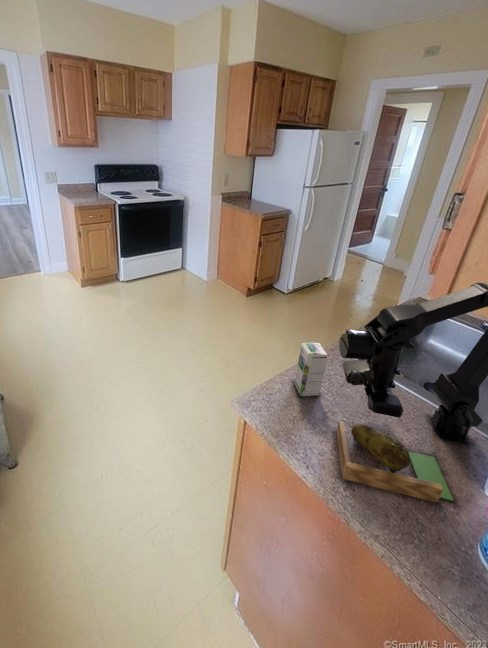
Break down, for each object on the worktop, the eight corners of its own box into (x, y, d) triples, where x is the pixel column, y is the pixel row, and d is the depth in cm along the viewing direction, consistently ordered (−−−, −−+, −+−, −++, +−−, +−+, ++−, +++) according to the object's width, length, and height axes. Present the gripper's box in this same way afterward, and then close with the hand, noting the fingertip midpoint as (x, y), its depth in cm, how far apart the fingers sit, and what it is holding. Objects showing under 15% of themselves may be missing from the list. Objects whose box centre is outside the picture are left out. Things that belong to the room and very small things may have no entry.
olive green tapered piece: (377, 432, 81) (385, 408, 78) (410, 483, 69) (421, 457, 66) (345, 433, 81) (352, 409, 78) (373, 484, 69) (382, 458, 66)
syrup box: (293, 382, 97) (300, 342, 92) (312, 382, 98) (319, 342, 92) (300, 396, 92) (307, 355, 87) (320, 395, 93) (328, 354, 87)
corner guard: (416, 451, 77) (421, 439, 75) (437, 502, 66) (443, 489, 64) (336, 433, 81) (339, 421, 79) (342, 479, 70) (346, 466, 68)
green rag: (434, 458, 75) (434, 457, 75) (453, 501, 66) (453, 500, 66) (407, 452, 76) (408, 451, 76) (422, 493, 67) (423, 492, 67)
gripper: (343, 332, 87) (333, 378, 93) (355, 378, 70) (342, 431, 76) (388, 339, 84) (375, 386, 90) (412, 388, 67) (394, 442, 73)
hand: (370, 408), depth 82 cm, fingers closed
